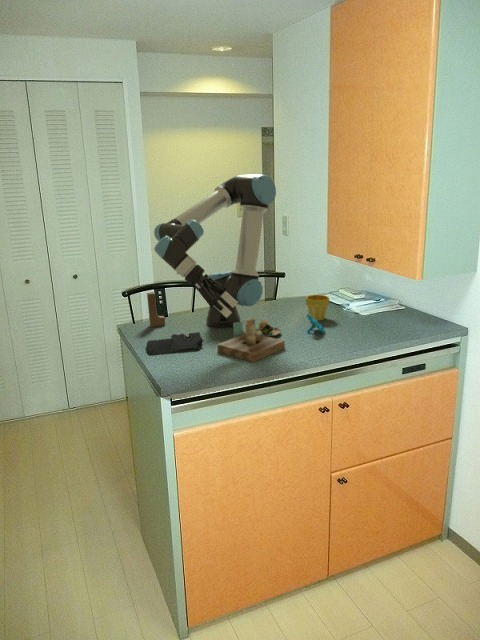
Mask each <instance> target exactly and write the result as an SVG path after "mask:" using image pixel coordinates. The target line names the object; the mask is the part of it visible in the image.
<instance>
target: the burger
mask: <svg viewBox="0 0 480 640" xmlns="http://www.w3.org/2000/svg"><path fill="white" fill-rule="evenodd" d="M268 323H269V321H268V320H261V322H260V323H259V326H258V328H255V334H258V335H262V336H267V337H271V338H273V337H276V336H278V335H279V334H280V333H282V330H281V329H280V328H278V327H273V326H271V325H270V324H268Z"/></svg>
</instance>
